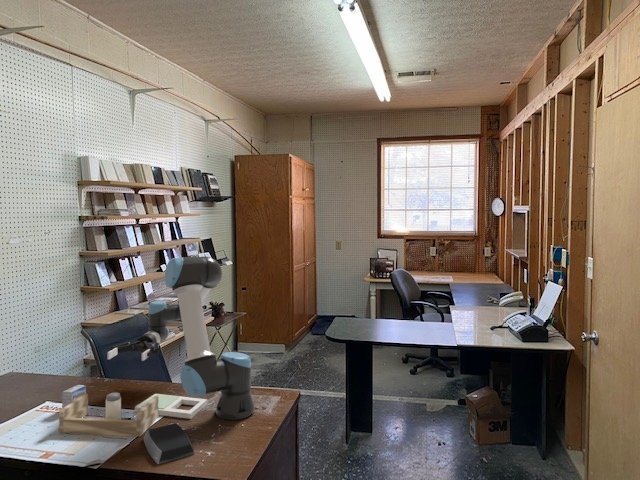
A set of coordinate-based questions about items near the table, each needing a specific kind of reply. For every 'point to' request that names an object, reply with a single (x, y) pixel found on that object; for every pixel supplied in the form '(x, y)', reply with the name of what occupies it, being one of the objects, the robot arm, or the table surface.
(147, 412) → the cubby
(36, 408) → the table surface
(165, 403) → the hole board
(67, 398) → the medicine box
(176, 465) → the table surface
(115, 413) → the cream bottle
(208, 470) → the table surface
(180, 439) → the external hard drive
